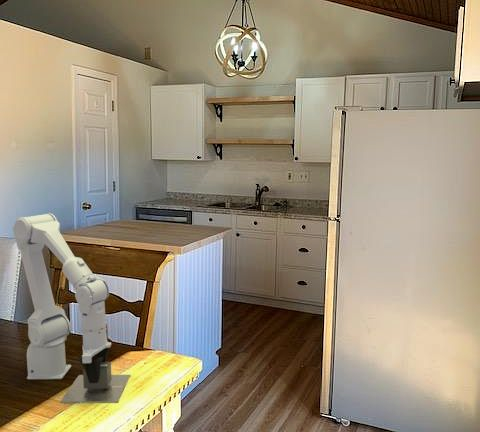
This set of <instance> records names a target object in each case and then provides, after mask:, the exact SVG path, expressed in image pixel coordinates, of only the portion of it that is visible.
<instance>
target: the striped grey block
mask: <svg viewBox="0 0 480 432" xmlns="http://www.w3.org/2000/svg"><path fill="white" fill-rule="evenodd" d="M82 375H83V381H84V388H108V386H109V384H110V382H111V375H112V362H111V361H106V362H101V366H100V372H99V380H98V383H89V380H88V377H87V374H86V372H85V369H84V368H83V369H82Z"/></svg>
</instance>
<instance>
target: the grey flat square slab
mask: <svg viewBox="0 0 480 432" xmlns="http://www.w3.org/2000/svg"><path fill="white" fill-rule="evenodd" d="M130 377H131V374H111V382H110V384H109V386H108V388H84V381H83V374H78V376H77V377H76V378H75V379H74V381H73V383H72V384H71V386H70V387H69V389H68V390H67V391H66V392H65V394H64V395H63V397H61V400H60V401H59V403H60V404H77V403H78V404H88V403H89V404H91V403H94V404H98V403H100V404H101V403H103V404H104V403H106V404H107V403H116V404H117V403H119V401H120V398H121V397H122V394H123V392H124V390H125V388H126V387H127V384H128V382H129V380H130ZM80 402H81V403H80ZM85 402H86V403H85Z"/></svg>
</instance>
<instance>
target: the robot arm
mask: <svg viewBox="0 0 480 432" xmlns="http://www.w3.org/2000/svg"><path fill="white" fill-rule="evenodd" d="M12 230H13V231H12V232H13V235H14V239H15V243H16V247H17V249H18V250H19V252H20V256H21V260H22V264H23V268H24V273H25V276H26V280H27V281H26V282H27V284H28V288H29V292H30V296H31V300H32V304H33V307H34V308H33V309H34V310H33V311H34V312H33V313H32V314H31V315H29V318H28V319H27V320H26V322H27V326H28V327H27V328H28V332H27V336H28V340H29V342H30V344H29V345H28V347H27V351H26V364H27V377H26V379H27V380H62V379H63V378H64V377H65V375H66V374H67V373H68V372H69V370H70V369H71V367H72V365H71V364H67V362H66V345H65V341H66V340H68V339H67V336H68V335H69V334H70V333H71V322H70V320H69V318H68V317H67V315H66V311H65V309H63V308H61V306H59V305H56V303H55V299H54V295H53V291H52V287H51V282H50V278H49V275H48V271H47V267H46V262H45V258H44V254H43V248H44V246H45V245H46V247H47V248H48V249H49V250H50V251H51V252H52V254H53V255H54V256H55V257H56V258H57V259H58V260H59V261H60V263H61V264H62V269H61V271H62V273H63V274H64V276H65V277H66V279H67V280H68V281H69V284H71V286H72V287H73V289H74V290H75V293H74V297H75V300H76V302H77V304H78V310H79V312H80V313H81V329H82V331H81V332H82V355H80V357H79V359H78V360H79V361H78V362H79V363H80V365H81V366H82V367H83V369H85V372H86V374H87V377H88V380H89V383H98V380H99V372H100V366H101V362H107V357H108V354H109V351H110V349H111V346H112V341H111V342H109V341H108V342H107V335H106V324H107V323H106V321H107V320H106V306H105V304H106V303H105V301H106V300H107V299H108V298H109V295H110V287H109V286H108V283H107V281H106V280H105V279H104V278H101V277H99V276H98V275H95V274H94V273H93V272H92V270H91V268H89V266H88V265H87V263H86V262H85V261H84V259H83V258H82V257H78V256H75V255H74V253H73V252H72V250H71V248H70V246H69V245H68V243H67V242H66V240H65V238H64V237H63V235H62V233H61V232H60V231H61V223H60V222H59V221H58V219H57V217H56V216H55V215H54V214H53V213H49V212H48V213H47V212H46V213H45V214H39V215H32V216H31V215H30V216H19V217H18V218H16V221H14V225H13V226H12Z"/></svg>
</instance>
